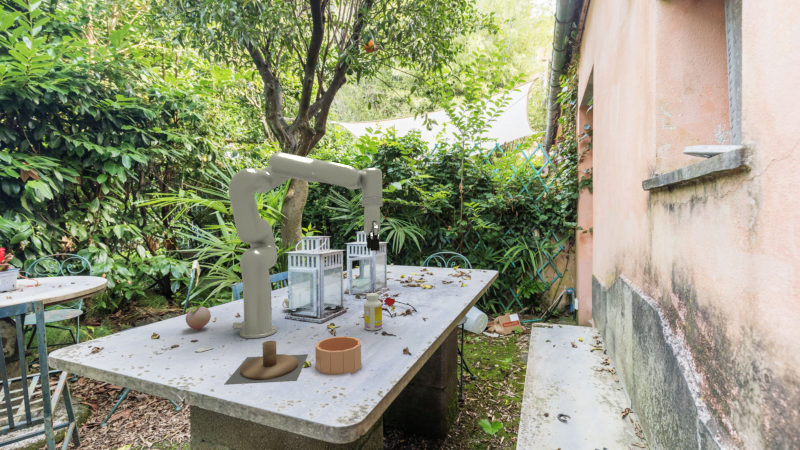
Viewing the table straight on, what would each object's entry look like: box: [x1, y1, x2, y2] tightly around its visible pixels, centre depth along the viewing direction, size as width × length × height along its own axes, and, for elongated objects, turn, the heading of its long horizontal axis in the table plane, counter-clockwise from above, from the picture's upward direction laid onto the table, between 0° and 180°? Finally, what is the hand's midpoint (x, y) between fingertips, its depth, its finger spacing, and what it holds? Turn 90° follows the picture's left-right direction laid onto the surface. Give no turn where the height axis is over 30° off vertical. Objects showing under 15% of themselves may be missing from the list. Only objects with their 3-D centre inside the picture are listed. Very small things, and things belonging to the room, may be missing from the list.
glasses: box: [378, 296, 418, 319], centre depth 164 cm, size 14×16×5 cm
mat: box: [223, 353, 309, 386], centre depth 103 cm, size 18×18×1 cm
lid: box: [241, 340, 298, 380], centre depth 103 cm, size 15×15×7 cm
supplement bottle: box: [363, 292, 383, 332], centre depth 139 cm, size 7×7×13 cm
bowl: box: [314, 335, 362, 375], centre depth 105 cm, size 12×12×6 cm
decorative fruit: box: [185, 303, 212, 331], centre depth 141 cm, size 9×8×10 cm
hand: (372, 249), depth 136 cm, fingers open, 9 cm apart
